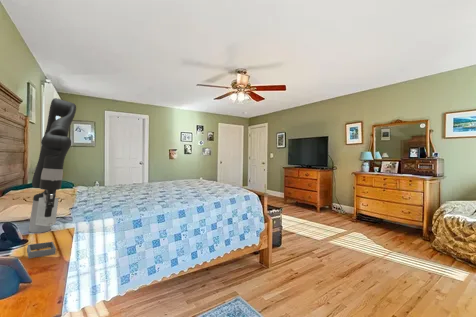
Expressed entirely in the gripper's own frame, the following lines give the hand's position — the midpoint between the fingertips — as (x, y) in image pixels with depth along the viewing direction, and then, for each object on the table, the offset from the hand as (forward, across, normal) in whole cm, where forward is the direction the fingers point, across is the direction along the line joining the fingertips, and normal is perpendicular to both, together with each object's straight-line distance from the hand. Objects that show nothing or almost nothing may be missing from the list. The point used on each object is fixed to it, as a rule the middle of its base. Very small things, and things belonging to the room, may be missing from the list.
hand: (46, 214), depth 101 cm
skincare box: (+5, 0, 0) cm, 5 cm away
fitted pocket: (+17, 0, 0) cm, 17 cm away
